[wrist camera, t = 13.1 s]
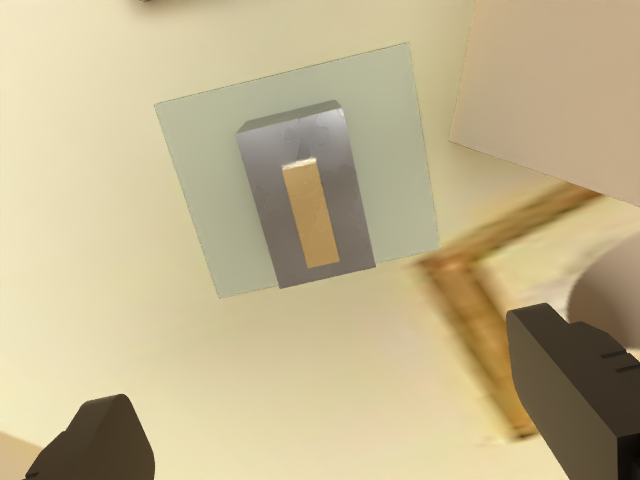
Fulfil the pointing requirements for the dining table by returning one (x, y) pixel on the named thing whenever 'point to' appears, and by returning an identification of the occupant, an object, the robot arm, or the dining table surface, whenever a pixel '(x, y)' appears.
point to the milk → (556, 90)
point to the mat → (366, 145)
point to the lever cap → (306, 193)
